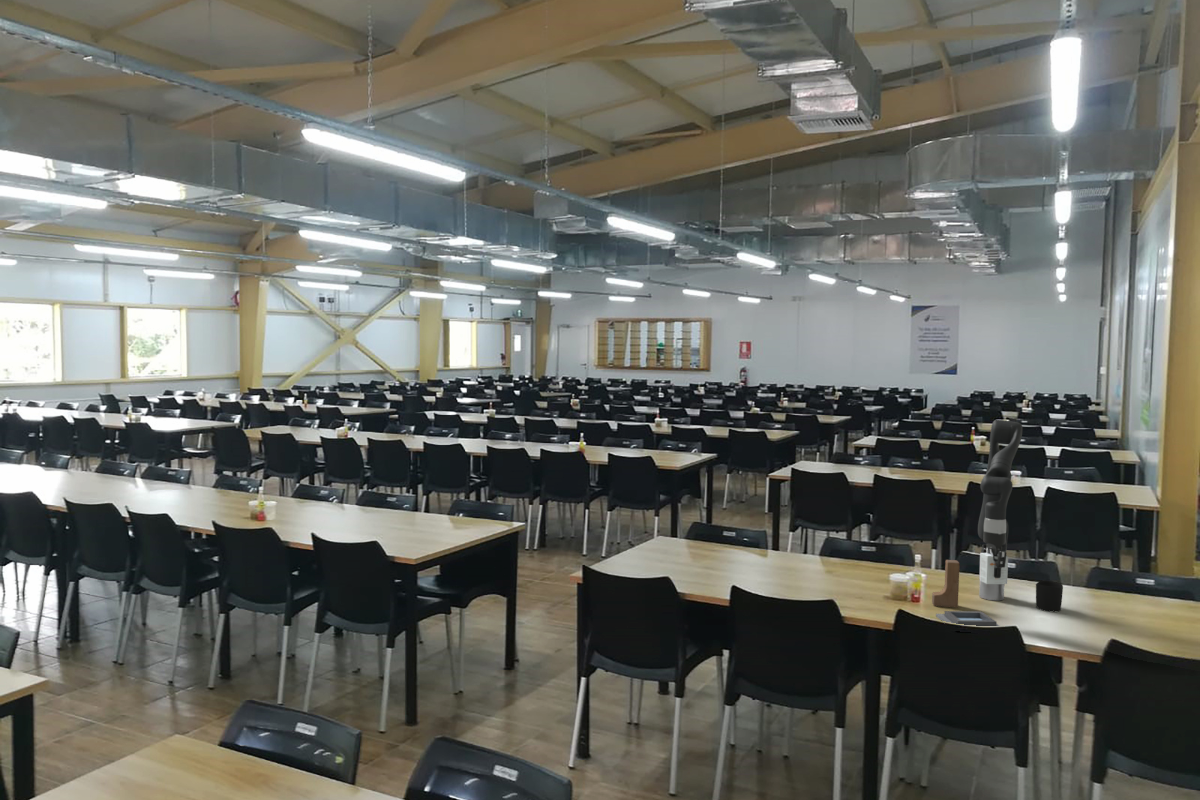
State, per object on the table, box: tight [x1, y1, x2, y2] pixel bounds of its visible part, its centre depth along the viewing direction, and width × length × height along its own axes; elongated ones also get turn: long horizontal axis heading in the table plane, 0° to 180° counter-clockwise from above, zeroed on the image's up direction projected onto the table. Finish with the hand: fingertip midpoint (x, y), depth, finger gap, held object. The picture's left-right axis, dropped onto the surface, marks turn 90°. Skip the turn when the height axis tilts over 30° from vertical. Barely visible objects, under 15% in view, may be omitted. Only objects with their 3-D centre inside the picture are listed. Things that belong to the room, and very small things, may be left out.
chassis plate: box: [935, 610, 1000, 626], centre depth 312 cm, size 18×18×3 cm
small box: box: [979, 552, 1009, 585], centre depth 313 cm, size 8×6×10 cm
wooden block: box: [931, 559, 961, 609], centre depth 335 cm, size 9×4×18 cm, turn 78°
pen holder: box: [1035, 580, 1064, 613], centre depth 333 cm, size 9×9×10 cm
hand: (993, 575), depth 313 cm, fingers closed on small box, 5 cm apart
